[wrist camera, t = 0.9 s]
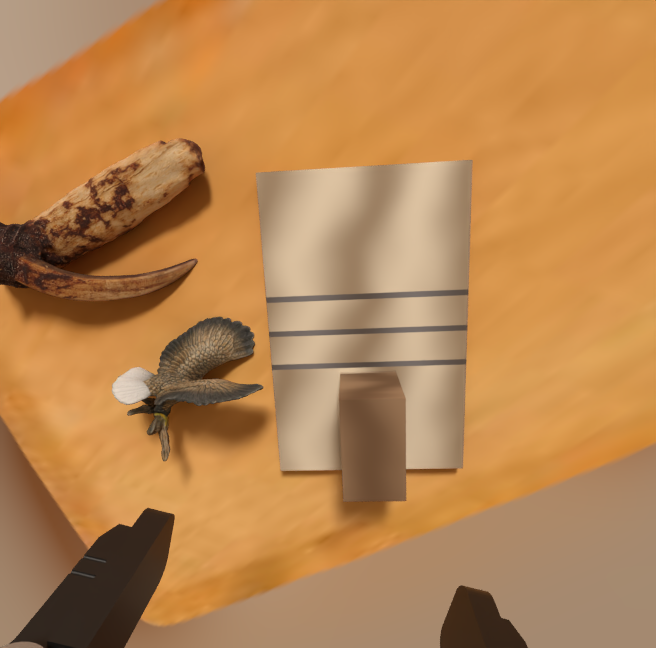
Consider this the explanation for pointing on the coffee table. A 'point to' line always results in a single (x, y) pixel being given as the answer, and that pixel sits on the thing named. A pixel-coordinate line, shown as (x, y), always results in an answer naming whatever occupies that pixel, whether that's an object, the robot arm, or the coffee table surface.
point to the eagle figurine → (188, 373)
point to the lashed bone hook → (100, 226)
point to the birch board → (367, 300)
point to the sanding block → (372, 436)
